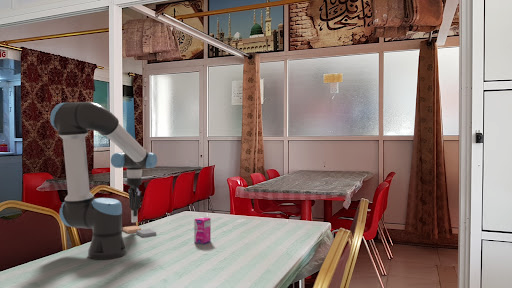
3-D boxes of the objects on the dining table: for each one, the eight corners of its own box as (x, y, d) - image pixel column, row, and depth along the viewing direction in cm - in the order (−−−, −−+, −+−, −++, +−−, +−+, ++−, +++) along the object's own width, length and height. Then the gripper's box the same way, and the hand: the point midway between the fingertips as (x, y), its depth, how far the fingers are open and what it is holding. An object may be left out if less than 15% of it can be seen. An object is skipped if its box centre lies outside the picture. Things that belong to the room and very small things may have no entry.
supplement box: (193, 243, 187) (193, 218, 187) (201, 240, 192) (201, 216, 192) (203, 244, 184) (203, 220, 184) (211, 241, 190) (211, 217, 189)
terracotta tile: (128, 230, 206) (122, 227, 213) (128, 234, 206) (122, 231, 213) (141, 228, 210) (135, 225, 217) (141, 232, 210) (135, 229, 217)
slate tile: (143, 233, 198) (136, 230, 205) (143, 238, 198) (136, 234, 205) (156, 232, 202) (149, 228, 209) (156, 236, 202) (149, 232, 209)
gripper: (146, 177, 205) (146, 223, 205) (136, 176, 216) (136, 219, 216) (131, 178, 201) (131, 225, 201) (123, 176, 211) (123, 220, 211)
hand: (134, 222), depth 208 cm, fingers closed
